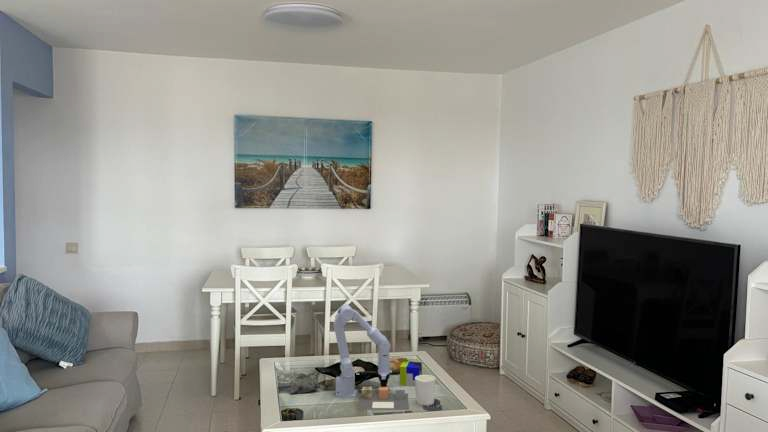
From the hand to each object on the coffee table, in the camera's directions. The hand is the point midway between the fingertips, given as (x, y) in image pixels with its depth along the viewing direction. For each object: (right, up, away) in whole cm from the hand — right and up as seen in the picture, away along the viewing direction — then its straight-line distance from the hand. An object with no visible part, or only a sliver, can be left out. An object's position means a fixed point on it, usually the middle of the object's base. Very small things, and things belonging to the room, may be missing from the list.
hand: (383, 389), depth 291 cm
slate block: (+8, -1, -9) cm, 12 cm away
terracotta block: (0, -1, -9) cm, 9 cm away
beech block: (-8, -1, -9) cm, 12 cm away
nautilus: (+9, -1, +33) cm, 35 cm away
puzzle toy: (+14, -1, +14) cm, 20 cm away
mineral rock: (-40, -2, 0) cm, 40 cm away
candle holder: (+20, -2, -15) cm, 25 cm away
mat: (0, -2, -14) cm, 14 cm away
